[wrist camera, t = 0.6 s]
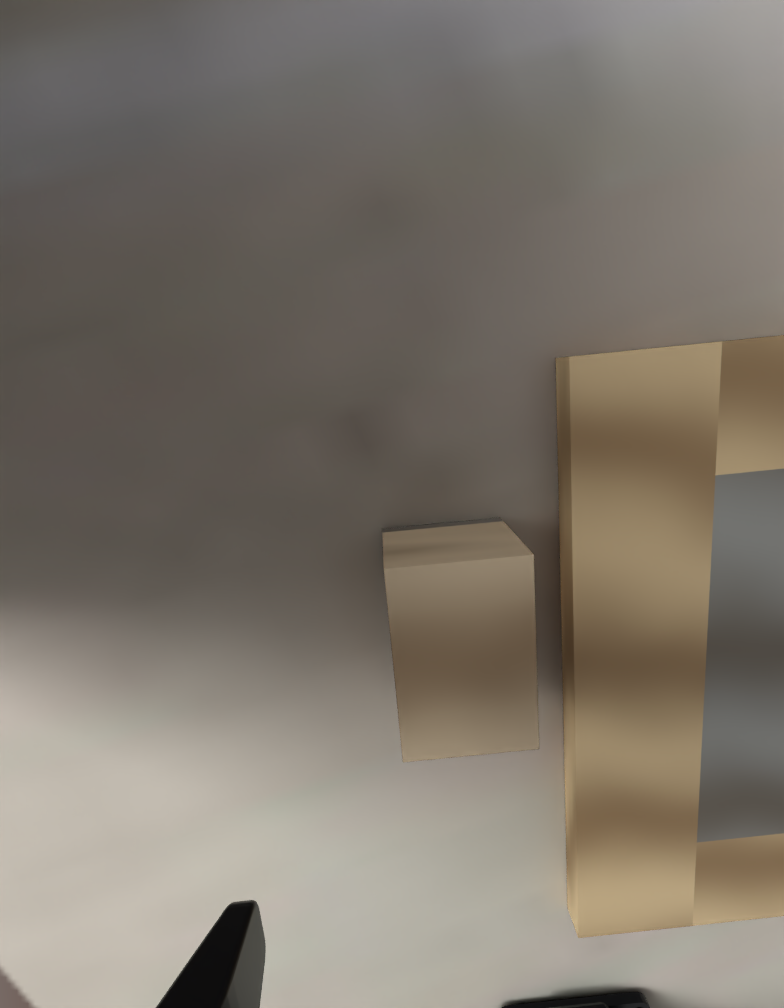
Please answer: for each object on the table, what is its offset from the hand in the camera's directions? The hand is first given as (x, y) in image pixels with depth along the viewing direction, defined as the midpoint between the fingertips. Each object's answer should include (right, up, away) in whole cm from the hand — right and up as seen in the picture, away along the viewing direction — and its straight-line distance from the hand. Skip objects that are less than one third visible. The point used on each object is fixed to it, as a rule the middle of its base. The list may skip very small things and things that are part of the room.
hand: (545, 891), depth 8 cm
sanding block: (0, +3, +10) cm, 11 cm away
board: (+11, +1, +11) cm, 15 cm away
